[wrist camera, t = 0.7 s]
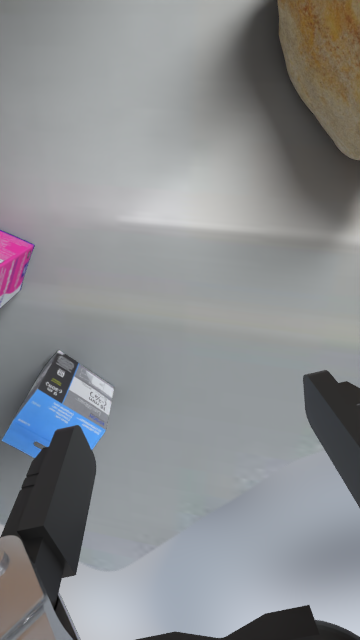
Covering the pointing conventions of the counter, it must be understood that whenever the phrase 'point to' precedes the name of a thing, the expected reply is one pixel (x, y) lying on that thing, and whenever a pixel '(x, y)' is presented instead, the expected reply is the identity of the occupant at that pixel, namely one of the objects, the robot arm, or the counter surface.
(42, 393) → the label tape cartridge
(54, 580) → the robot arm
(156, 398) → the counter surface
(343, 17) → the stone
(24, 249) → the supplement box
